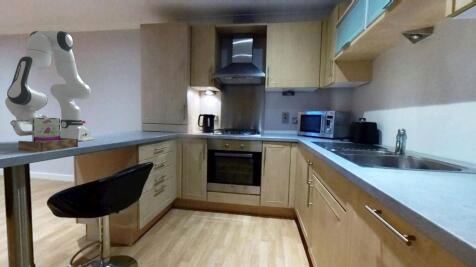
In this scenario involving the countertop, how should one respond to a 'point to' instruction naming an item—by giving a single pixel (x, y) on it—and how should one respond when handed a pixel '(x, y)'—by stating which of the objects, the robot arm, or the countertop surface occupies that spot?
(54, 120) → the candy bar box
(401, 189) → the countertop surface
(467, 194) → the countertop surface
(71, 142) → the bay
